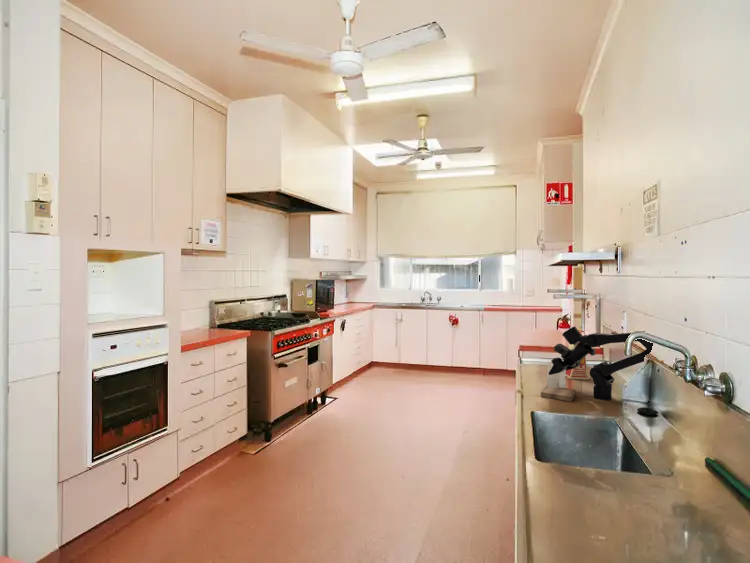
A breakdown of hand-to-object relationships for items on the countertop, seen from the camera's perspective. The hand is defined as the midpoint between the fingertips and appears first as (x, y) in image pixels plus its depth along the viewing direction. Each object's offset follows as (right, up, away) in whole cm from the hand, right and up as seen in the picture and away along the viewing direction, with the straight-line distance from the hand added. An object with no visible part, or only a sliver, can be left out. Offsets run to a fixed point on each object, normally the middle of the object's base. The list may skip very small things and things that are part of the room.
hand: (553, 372), depth 207 cm
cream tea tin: (+1, -7, -1) cm, 7 cm away
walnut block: (-4, -7, -14) cm, 16 cm away
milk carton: (+20, -7, +21) cm, 30 cm away
